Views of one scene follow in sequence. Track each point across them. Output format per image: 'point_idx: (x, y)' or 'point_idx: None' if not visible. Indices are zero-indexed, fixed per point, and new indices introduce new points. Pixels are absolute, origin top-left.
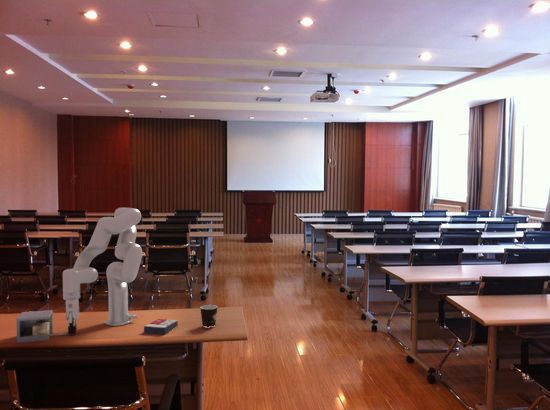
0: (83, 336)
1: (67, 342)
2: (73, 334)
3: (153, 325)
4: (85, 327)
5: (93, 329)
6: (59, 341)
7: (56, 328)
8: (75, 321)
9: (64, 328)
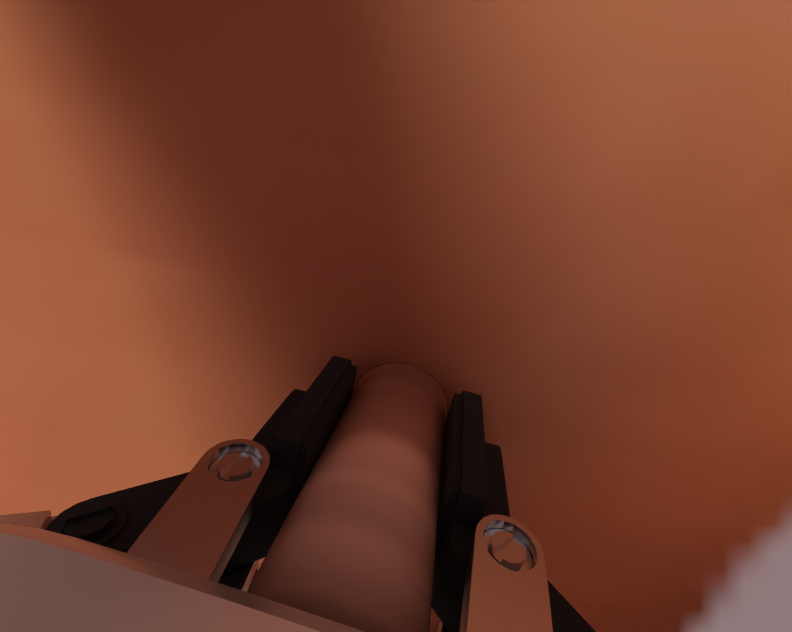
0: (616, 279)
1: (771, 527)
2: (444, 404)
3: None
4: (109, 177)
5: (262, 43)
6: (634, 583)
7: (85, 495)
8: (364, 547)
9: (101, 432)
